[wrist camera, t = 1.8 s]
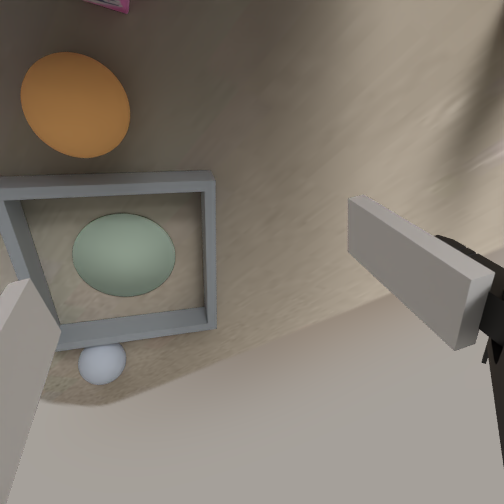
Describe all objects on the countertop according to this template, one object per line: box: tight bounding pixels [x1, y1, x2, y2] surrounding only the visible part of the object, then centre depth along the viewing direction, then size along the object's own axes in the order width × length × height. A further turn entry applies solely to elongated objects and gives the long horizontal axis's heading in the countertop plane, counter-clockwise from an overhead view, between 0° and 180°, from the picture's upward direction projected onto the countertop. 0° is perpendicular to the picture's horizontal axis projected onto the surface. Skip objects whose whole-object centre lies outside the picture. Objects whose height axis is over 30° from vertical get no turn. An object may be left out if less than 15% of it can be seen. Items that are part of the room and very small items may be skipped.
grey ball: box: [78, 343, 126, 385], centre depth 38 cm, size 5×5×5 cm
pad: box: [72, 213, 175, 297], centre depth 35 cm, size 10×10×1 cm
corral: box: [0, 170, 217, 352], centre depth 34 cm, size 18×18×3 cm
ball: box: [21, 52, 130, 158], centre depth 25 cm, size 7×7×7 cm
